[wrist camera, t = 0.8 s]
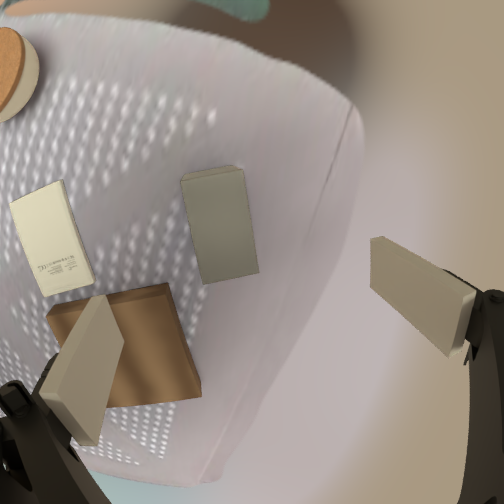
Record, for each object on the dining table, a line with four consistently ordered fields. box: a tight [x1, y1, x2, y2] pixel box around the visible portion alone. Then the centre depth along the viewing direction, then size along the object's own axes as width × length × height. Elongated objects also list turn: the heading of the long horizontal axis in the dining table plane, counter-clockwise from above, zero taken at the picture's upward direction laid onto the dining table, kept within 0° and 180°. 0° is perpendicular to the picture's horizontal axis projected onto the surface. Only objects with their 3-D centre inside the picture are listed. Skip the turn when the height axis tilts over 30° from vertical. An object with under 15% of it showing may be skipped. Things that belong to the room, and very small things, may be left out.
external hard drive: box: [9, 180, 96, 297], centre depth 29 cm, size 2×8×12 cm
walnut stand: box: [46, 283, 202, 408], centre depth 34 cm, size 16×16×3 cm
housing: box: [180, 165, 259, 285], centre depth 28 cm, size 5×9×8 cm, turn 9°
